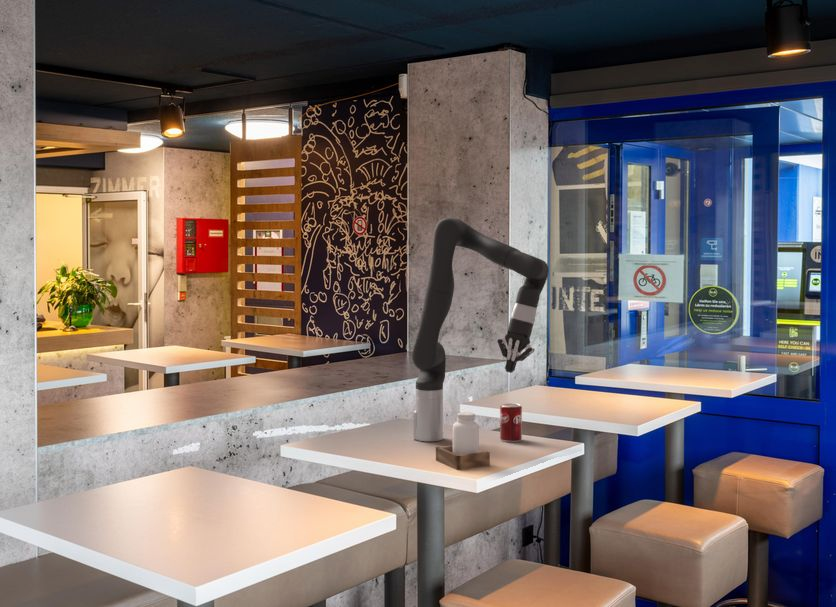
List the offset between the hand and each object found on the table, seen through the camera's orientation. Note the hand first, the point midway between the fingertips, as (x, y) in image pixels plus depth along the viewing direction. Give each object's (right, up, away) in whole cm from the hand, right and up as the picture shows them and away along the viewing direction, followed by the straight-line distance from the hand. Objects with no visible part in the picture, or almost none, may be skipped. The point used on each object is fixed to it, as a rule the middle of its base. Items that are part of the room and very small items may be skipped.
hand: (509, 372), depth 290 cm
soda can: (+2, -24, +17) cm, 30 cm away
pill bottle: (-15, -26, -15) cm, 34 cm away
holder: (-15, -26, -15) cm, 34 cm away
